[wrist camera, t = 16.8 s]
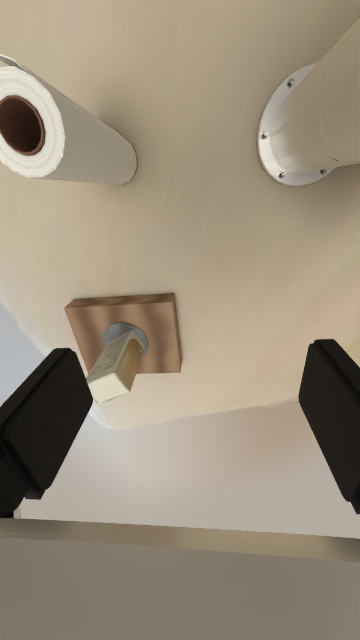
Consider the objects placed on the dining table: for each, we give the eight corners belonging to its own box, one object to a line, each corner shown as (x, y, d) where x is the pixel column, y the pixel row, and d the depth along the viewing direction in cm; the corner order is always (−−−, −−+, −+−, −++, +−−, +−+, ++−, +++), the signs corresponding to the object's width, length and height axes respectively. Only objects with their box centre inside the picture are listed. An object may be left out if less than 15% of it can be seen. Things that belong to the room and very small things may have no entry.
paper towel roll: (136, 188, 36) (66, 186, 17) (97, 180, 36) (-15, 169, 17) (140, 129, 32) (58, 47, 14) (97, 120, 32) (-44, 25, 14)
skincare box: (120, 356, 47) (96, 405, 36) (107, 340, 45) (78, 386, 34) (147, 345, 45) (130, 393, 34) (135, 328, 43) (113, 373, 32)
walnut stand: (174, 293, 44) (171, 303, 40) (181, 360, 52) (180, 374, 48) (74, 299, 46) (63, 309, 42) (95, 362, 54) (87, 375, 50)
